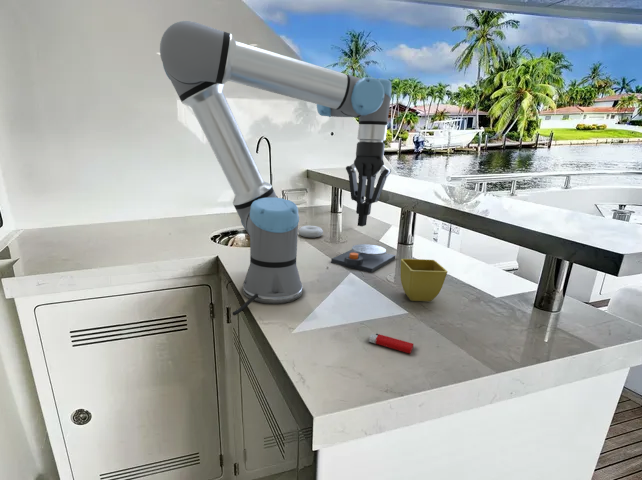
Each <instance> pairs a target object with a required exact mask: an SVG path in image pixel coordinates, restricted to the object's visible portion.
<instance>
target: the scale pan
mask: <svg viewBox="0 0 642 480" xmlns="http://www.w3.org/2000/svg"><path fill="white" fill-rule="evenodd" d="M351 250H353V251H354V252H357V253H360V254H365V255H382V254H385V253H387V249H386V248H385V247H382V246H380V245H377V244H369V243H360V244H359V243H358V244H355V245H352V246H351Z"/></svg>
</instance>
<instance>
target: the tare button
mask: <svg viewBox="0 0 642 480" xmlns="http://www.w3.org/2000/svg"><path fill="white" fill-rule="evenodd" d="M349 258H351V259H358V253H350V257H349Z"/></svg>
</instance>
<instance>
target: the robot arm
mask: <svg viewBox="0 0 642 480" xmlns="http://www.w3.org/2000/svg"><path fill="white" fill-rule="evenodd" d="M159 54H160V55H159V56H160V60H161V62H162V66H163V67H162V68H163V70H164V72H165V75H166V76H167V79H169V81H170V82H171V84H172V86H173V88H174V90H175V92H176V94H177V96H178V98H179V100H180V102H181V104H183V105H185V106H188V107H190V108H191V110H192V112H193V114H194V116H195V118H196V120H197V122H198V124H199V126H200V128H201V130H202V132H203V134H204V136H205V138H206V140H207V142H208V144H209V146H210V148H211V150H212V152H213V154H214V156H215V159H216V160H217V162H218V164H219V166H220V168H221V170H222V172H223V174H224V177H225V178H226V180H227V182H228V184H229V187H230V188H231V190H232V192H233V194H234V197H233V199H232V205H233V207H234V208H235V210H236V212H237V215H238V217H239V219H240V222H241V225H242V226H243V229H244V230H245V231H246V233H248V236H249V250H250V251H249V259H250V260H249V265H248V269H247V270H246V271H247V272H246V275H245V278H244V281H243V284H242V293H243V295H244V296H245V297H246V298H247V299H248V300H246V301H245V302H244V303H243V304H242V306H240V307H239V308H238V309H236V310H235V311H233V312H232V315H233V316H237V315H238V314H240V313H241V312H243V311H244V310H245V309H246V308H247V307H248V306H249V305H250V304H252V302H253V301H255V302H258V303H262V304H275V305H276V304H277V305H278V304H286V303H291V302H293V301H295V300H297V299H299V298H300V297H301V296H302V294H303V283H302V280H301V277H300V274H299V270H298V266H297V256H298V255H297V252H298V236H299V232H298V230H299V222H300V216H299V208H298V205H297V204H296V203H295V202H294V201H292V200H289V199H285V198H283V197H278V196H277V194H276V192H275V190H274V188H273V185H272V183H269V182H266V181H264V179H263V177H262V175H261V173H260V170H259V168H258V166H257V164H256V162H255V160H254V157H253V155H252V152H251V151H250V149H249V146H248V144H247V142H246V139H245V137H244V135H243V133H242V131H241V129H240V126H239V125H238V122H237V119H236V118H235V116H234V113H233V111H232V110H231V107H230V105H229V103H228V100H227V98H226V96H225V94H224V87H225V84H226V83H228V82H232V83H236V84H239V85H242V86H246V87H251V88H254V89H258V90H262V91H265V92H270V93H274V94H277V95H281V96H285V97H289V98H292V99H296V100H301V101H303V102H308V103H311V104H314V105H315V104H316V111H317V113H318V115H320V116H321V117H329V118H357V119H358V130H357V140H358V141H357V142H356V147H355V148H356V150H355V158H354V160H353V163H352V164H350V165H346V166H345V170H346V172H347V175H348V182H349V183H348V184H349V190H350V191H349V192H350V199H351V201H354V202H355V203H356V209H355V210H356V211H355V212H356V215H357V214H358V215H357V216H358V217H357V227H365V226H367V220H368V216H370V215H371V210H372V205H373V204H374V203H377V202H379V200H380V197H381V194H382V192H383V189H384V186H385V184H386V181H387V178H388V177H389V175H390V174H391V173H392V169H391V168H388V167H386V165H385V161H384V154H385V149H386V148H385V147H386V145H385V144H386V143H385V142H384V141H386V139H387V130H388V129H387V128H388V121H389V113H390V107H391V105H390V104H391V100H392V82H391V80H389V79H387V78H381V77H378V78H377V77H376V78H375V77H371V76H370V77H369V76H364V77H357V76H355V75H350V74H346V73H344V72H340V71H337V70H333V69H330V68H326V67H324V66H320V65H317V64H314V63H310V62H307V61H303V60H300V59H297V58H293V57H291V56H286V55H284V54H279V53H277V52H273V51H270V50H267V49H264V48H261V47H258V46H257V47H256V46H253V45H250V44H247V43H243V42H240V41H236V38H234V35H233V34H232V33H230V32H227V31H223V30H220V29H217V28H214V27H211V26H208V25H206V24H203V23H198V22H195V21H190V20H181V21H176V22H174V23H172V24H171V25H169V26H168V27H167V28H166V30H165V31H164V33H163V34H162V36H161V39H160V43H159ZM356 171H357V173H358V177H357V173H356ZM378 173H380V175H379V176H378V179H377V174H378ZM357 179H358V180H357ZM376 179H377V182H376V185H375V181H376Z"/></svg>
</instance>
